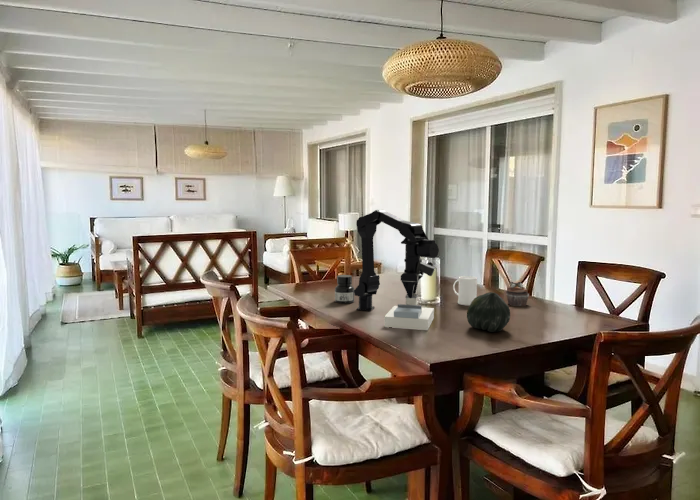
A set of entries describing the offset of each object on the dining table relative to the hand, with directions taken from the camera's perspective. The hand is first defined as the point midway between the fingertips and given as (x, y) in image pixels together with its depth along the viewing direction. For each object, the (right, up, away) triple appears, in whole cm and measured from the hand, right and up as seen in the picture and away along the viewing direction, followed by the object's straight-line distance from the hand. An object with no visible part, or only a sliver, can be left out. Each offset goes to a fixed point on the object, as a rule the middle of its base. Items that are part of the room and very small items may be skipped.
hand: (412, 295), depth 194 cm
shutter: (-3, -6, -8) cm, 11 cm away
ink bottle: (-27, -6, +35) cm, 44 cm away
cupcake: (+51, -7, +30) cm, 59 cm away
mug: (+28, -6, +32) cm, 43 cm away
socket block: (-1, -10, -3) cm, 10 cm away
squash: (+26, -11, -13) cm, 31 cm away
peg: (0, -10, +1) cm, 10 cm away
